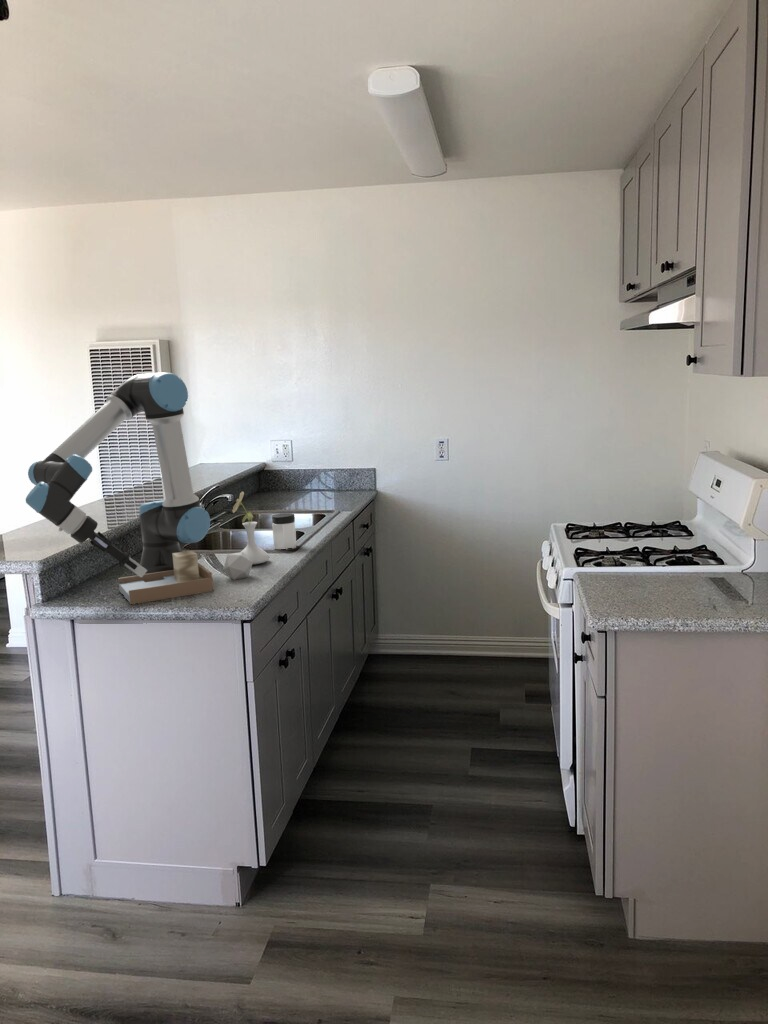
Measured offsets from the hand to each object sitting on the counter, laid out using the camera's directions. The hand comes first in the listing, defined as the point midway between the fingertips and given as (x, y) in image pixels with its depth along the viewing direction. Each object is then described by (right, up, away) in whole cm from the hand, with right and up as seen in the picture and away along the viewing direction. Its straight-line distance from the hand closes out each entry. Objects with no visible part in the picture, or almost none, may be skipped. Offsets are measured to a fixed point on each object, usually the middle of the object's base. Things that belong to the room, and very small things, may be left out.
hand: (143, 573), depth 242 cm
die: (+25, -3, +16) cm, 30 cm away
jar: (+35, +5, +58) cm, 68 cm away
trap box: (+6, -5, +4) cm, 9 cm away
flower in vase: (+26, +1, +34) cm, 43 cm away
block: (+11, -2, +6) cm, 13 cm away
